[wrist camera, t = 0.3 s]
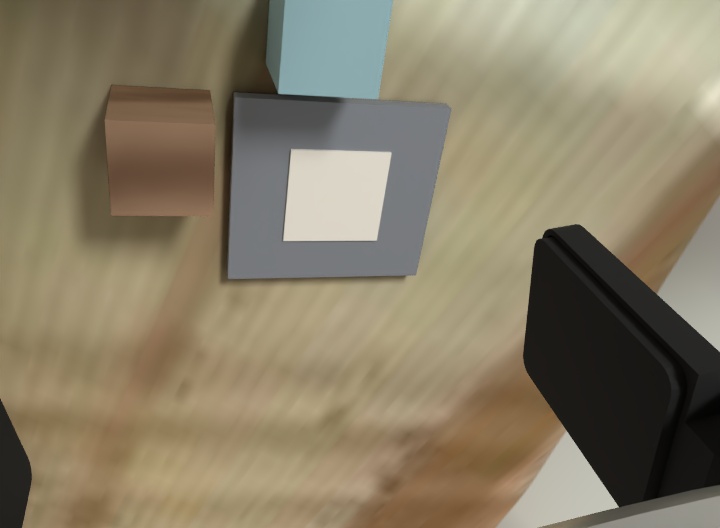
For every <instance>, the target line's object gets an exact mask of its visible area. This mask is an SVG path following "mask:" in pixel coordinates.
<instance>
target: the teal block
mask: <svg viewBox="0 0 720 528" xmlns="http://www.w3.org/2000/svg"><path fill="white" fill-rule="evenodd" d="M392 4H393V0H270V1H269V17H268V33H267V50H266V65H267V68H268V70H269V72H270V75H271V77H272V80H273V82H274V85H275V87H276V89H277V92H278V94H291V95H309V96H327V97H345V98H363V99H378V96H379V90H380V83H381V77H382V70H383V64H384V57H385V50H386V44H387V37H388V31H389V24H390V18H391V11H392Z"/></svg>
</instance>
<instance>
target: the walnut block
mask: <svg viewBox="0 0 720 528" xmlns="http://www.w3.org/2000/svg"><path fill="white" fill-rule="evenodd" d="M105 135H106V150H107V165H108V180H109V195H110V210H111V216H213V209H214V166H215V119H214V113H213V107H212V100H211V94H210V90H193V89H175V88H157V87H138V86H120V85H111V90H110V95H109V100H108V105H107V110H106V115H105Z"/></svg>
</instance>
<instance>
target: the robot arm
mask: <svg viewBox="0 0 720 528" xmlns="http://www.w3.org/2000/svg"><path fill="white" fill-rule="evenodd" d="M523 359H524V365H525V368H526V371H527V373H528V375H529V376H530V378H531V379H532V381H533V382H534V384H535V385H536V386H537V388H538V389H539V391H540V392H541V394H542V395H543V397H544V398H545V400H546V401H547V403H548V404H549V405H550V407H551V408H552V410H553V411H554V413H555V414H556V416H557V417H558V419H559V420H560V421H561V423H562V424H563V426H564V427H565V429H566V430H567V432H568V433H569V435H570V436H571V437H572V439H573V440H574V442H575V443H576V445H577V446H578V448H579V449H580V450H581V452H582V453H583V455H584V457H585V458H586V459H587V461H588V462H589V464H590V465H591V467H592V468H593V470H594V471H595V473H596V474H597V475H598V477H599V478H600V480H601V481H602V482H603V484H604V486H605V487H606V489H607V490H608V492H609V493H610V494H611V496H612V497H613V499H614V500H615V502H616V503H617V505H618V506H619V508H615V509H610V510H606V511H602V512H598V513H594V514H590V515H586V516H582V517H578V518H575V519H571V520H567V521H563V522H559V523H555V524H551V525H547V526H543V527H539V528H720V352H719V351H718V350H717V349H716V348H714V347H713V346H712V345H711V344H710V343H709V342H708V341H707V340H706V339H705V338H704V337H702V336H701V335H700V334H699V333H698V332H697V331H696V330H695V329H694V328H693V327H692V326H691V325H689V324H688V323H687V322H686V321H685V320H684V319H683V318H682V317H681V316H680V315H678V314H677V313H676V312H675V311H674V310H673V309H672V308H671V307H670V306H669V305H668V304H667V303H665V302H664V301H663V300H662V299H661V298H660V297H659V296H658V295H657V294H656V293H655V292H653V291H652V290H651V289H650V288H649V287H648V286H647V285H646V284H645V283H644V282H643V281H641V280H640V279H639V278H638V277H637V276H636V275H635V274H634V273H633V272H632V271H631V270H629V269H628V268H627V267H626V266H625V265H624V264H623V263H622V262H621V261H620V260H619V259H617V258H616V257H615V256H614V255H613V254H612V253H611V252H610V251H609V250H608V249H607V248H605V247H604V246H603V245H602V244H601V243H600V242H599V241H598V240H597V239H596V238H595V237H593V236H592V235H591V234H590V233H589V232H588V231H587V230H586V229H585V228H584V227H582V226H581V225H577V224H575V225H570V226H564V227H558V228H553V229H548V230H546V231H545V233H544V235H543V238H542V239H538V240H537V241H536V243H535V247H534V256H533V265H532V275H531V285H530V294H529V304H528V314H527V323H526V333H525V343H524V352H523ZM31 480H32V473H31V466H30V462H29V459H28V457H27V455H26V453H25V451H24V448H23V446H22V444H21V442H20V440H19V438H18V436H17V433H16V431H15V429H14V427H13V425H12V423H11V421H10V419H9V416H8V414H7V412H6V410H5V408H4V406H3V404H2V401H1V399H0V528H22V525H23V520H24V515H25V510H26V506H27V501H28V496H29V491H30V486H31Z"/></svg>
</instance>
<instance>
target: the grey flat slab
mask: <svg viewBox="0 0 720 528" xmlns="http://www.w3.org/2000/svg"><path fill="white" fill-rule="evenodd" d="M450 113H451V108H450V107H449V106H448V105H447V104H441V103H423V102H404V101H386V100H367V99H349V98H330V97H312V96H293V95H274V94H256V93H237V92H233V118H232V146H231V173H230V201H229V228H228V255H227V276H228V279H256V278H305V277H354V276H403V275H416V273H417V268H418V263H419V259H420V254H421V249H422V245H423V240H424V235H425V230H426V226H427V221H428V216H429V212H430V207H431V202H432V197H433V193H434V188H435V183H436V179H437V174H438V169H439V164H440V160H441V155H442V150H443V146H444V141H445V136H446V131H447V127H448V122H449V117H450Z"/></svg>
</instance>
